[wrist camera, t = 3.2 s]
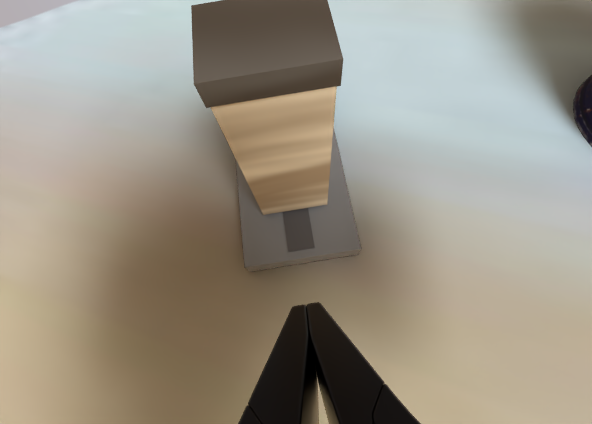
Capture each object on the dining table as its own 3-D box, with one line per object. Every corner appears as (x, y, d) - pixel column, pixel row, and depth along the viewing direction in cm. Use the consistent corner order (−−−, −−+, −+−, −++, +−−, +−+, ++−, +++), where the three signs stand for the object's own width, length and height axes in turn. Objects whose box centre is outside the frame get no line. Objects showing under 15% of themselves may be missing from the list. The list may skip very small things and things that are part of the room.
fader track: (358, 254, 19) (362, 246, 17) (250, 271, 19) (242, 266, 18) (316, 70, 25) (316, 49, 23) (232, 84, 25) (225, 64, 23)
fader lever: (329, 205, 19) (342, 58, 8) (261, 216, 19) (194, 83, 8) (320, 161, 20) (322, -17, 10) (256, 171, 20) (191, 5, 10)
